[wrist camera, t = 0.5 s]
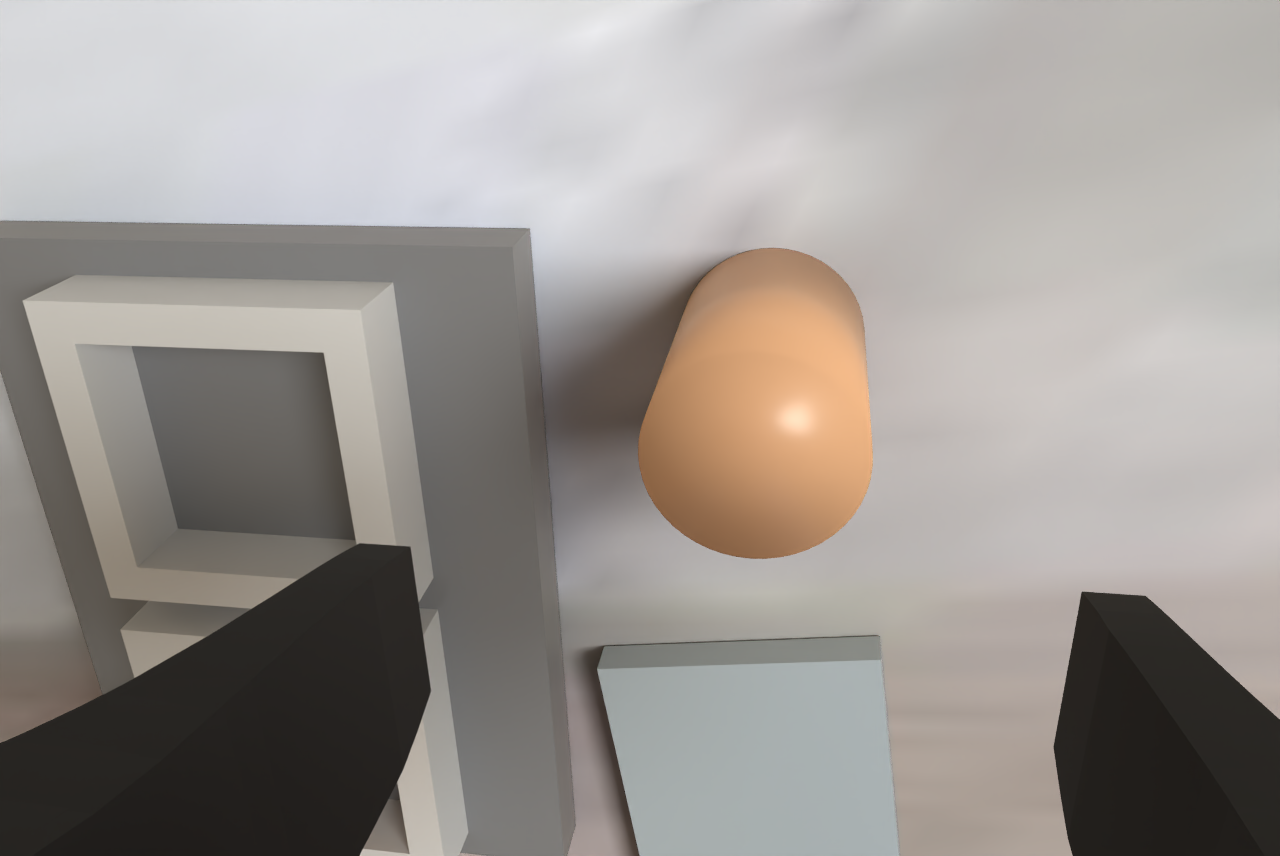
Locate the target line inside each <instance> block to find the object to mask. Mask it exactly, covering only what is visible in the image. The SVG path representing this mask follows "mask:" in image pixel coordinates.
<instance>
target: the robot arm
mask: <svg viewBox="0 0 1280 856" xmlns="http://www.w3.org/2000/svg"><path fill="white" fill-rule="evenodd" d="M430 693H431V686H430V679H429V672H428V665H427V658H426V651H425V644H424V637H423V630H422V623H421V616H420V609H419V602H418V595H417V588H416V581H415V574H414V567H413V560H412V553H411V547H410V546H395V545H381V544H366V543H359V544H357V545H355V546H353V547H352V548H350V549H348V550H346V551H344V552H342V553H340V554H339V555H337V556H335V557H334V558H332V559H330V560H329V561H327V562H325V563H324V564H322V565H320V566H319V567H317V568H316V569H314V570H312V571H311V572H309V573H308V574H306V575H304V576H303V577H301V578H300V579H298V580H296V581H295V582H293V583H292V584H290V585H289V586H287V587H285V588H284V589H282V590H281V591H279V592H278V593H276V594H274V595H273V596H271V597H270V598H268V599H266V600H265V601H263V602H262V603H260V604H258V605H257V606H255V607H254V608H252V609H250V610H249V611H247V612H246V613H244V614H242V615H241V616H239V617H238V618H236V619H234V620H233V621H231V622H230V623H228V624H226V625H225V626H223V627H222V628H220V629H218V630H217V631H215V632H213V633H212V634H210V635H208V636H207V637H205V638H203V639H202V640H200V641H198V642H196V643H195V644H193V645H191V646H189V647H188V648H186V649H184V650H182V651H181V652H179V653H177V654H175V655H174V656H172V657H170V658H168V659H167V660H165V661H163V662H161V663H160V664H158V665H156V666H154V667H153V668H151V669H149V670H147V671H146V672H144V673H142V674H141V675H139V676H137V677H135V678H134V679H132V680H130V681H128V682H126V683H124V684H123V685H121V686H119V687H117V688H115V689H113V690H111V691H109V692H108V693H106V694H104V695H102V696H100V697H98V698H96V699H94V700H92V701H90V702H88V703H86V704H84V705H82V706H80V707H78V708H76V709H74V710H72V711H69V712H67V713H65V714H63V715H61V716H59V717H57V718H55V719H53V720H50V721H48V722H46V723H44V724H42V725H40V726H38V727H36V728H34V729H32V730H29V731H27V732H25V733H23V734H20V735H18V736H16V737H14V738H12V739H9V740H7V741H5V742H2V743H0V856H360V854H361V852H362V850H363V848H364V846H365V844H366V842H367V840H368V838H369V836H370V835H371V833H372V831H373V829H374V827H375V825H376V823H377V821H378V819H379V817H380V815H381V813H382V811H383V809H384V807H385V805H386V803H387V801H388V799H389V797H390V795H391V793H392V792H393V790H394V788H395V786H396V784H397V781H398V779H399V777H400V775H401V773H402V771H403V769H404V767H405V764H406V761H407V759H408V756H409V753H410V751H411V748H412V745H413V743H414V740H415V737H416V734H417V732H418V729H419V726H420V723H421V720H422V717H423V714H424V711H425V708H426V705H427V702H428V699H429V696H430ZM1054 753H1055V760H1056V767H1057V773H1058V780H1059V787H1060V794H1061V800H1062V806H1063V812H1064V818H1065V824H1066V830H1067V836H1068V840H1069V844H1070V847H1071V851H1072V854H1073V856H1280V719H1278V718H1277V717H1276V716H1275V715H1274V714H1273V713H1272V712H1271V711H1269V710H1268V709H1267V708H1266V707H1265V706H1264V705H1263V704H1262V703H1261V702H1259V701H1258V700H1257V699H1256V698H1255V697H1254V696H1253V695H1252V694H1251V693H1250V692H1248V691H1247V690H1246V689H1245V688H1244V687H1243V686H1242V685H1241V684H1240V683H1239V682H1238V681H1237V680H1235V679H1234V678H1233V677H1232V676H1231V675H1230V674H1229V673H1228V672H1227V671H1226V670H1225V669H1224V668H1223V667H1222V666H1220V665H1219V664H1218V663H1217V662H1216V661H1215V660H1214V659H1213V658H1212V657H1211V656H1210V655H1209V654H1208V653H1207V652H1206V651H1204V650H1203V649H1202V648H1201V647H1200V646H1199V645H1198V644H1197V643H1196V642H1195V641H1194V640H1193V639H1192V638H1191V637H1190V636H1189V635H1188V634H1187V633H1185V632H1184V631H1183V630H1182V629H1181V628H1180V627H1179V626H1178V625H1177V624H1176V623H1175V622H1174V621H1173V620H1172V619H1171V618H1170V617H1169V616H1167V615H1166V614H1165V613H1164V612H1163V611H1162V610H1161V609H1160V608H1159V607H1158V606H1156V605H1155V604H1154V603H1153V602H1152V601H1151V600H1150V599H1148V598H1147V597H1146V596H1139V595H1124V594H1109V593H1094V592H1082V594H1081V599H1080V605H1079V610H1078V616H1077V621H1076V627H1075V632H1074V638H1073V643H1072V649H1071V654H1070V660H1069V665H1068V671H1067V676H1066V682H1065V687H1064V693H1063V698H1062V704H1061V709H1060V715H1059V720H1058V726H1057V731H1056V737H1055V742H1054Z"/></svg>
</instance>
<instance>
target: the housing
mask: <svg viewBox="0 0 1280 856" xmlns="http://www.w3.org/2000/svg"><path fill="white" fill-rule="evenodd" d="M0 371H1V374H2V378H3V381H4V384H5V387H6V390H7V393H8V397H9V400H10V403H11V406H12V409H13V412H14V416H15V419H16V422H17V425H18V428H19V431H20V435H21V438H22V441H23V444H24V447H25V450H26V454H27V457H28V460H29V463H30V466H31V469H32V473H33V476H34V479H35V482H36V485H37V488H38V492H39V495H40V498H41V501H42V504H43V507H44V511H45V514H46V517H47V520H48V523H49V526H50V530H51V533H52V536H53V539H54V542H55V545H56V549H57V552H58V555H59V558H60V561H61V564H62V568H63V571H64V574H65V577H66V580H67V583H68V587H69V590H70V593H71V596H72V599H73V602H74V606H75V609H76V612H77V615H78V618H79V621H80V625H81V628H82V631H83V634H84V637H85V640H86V644H87V647H88V650H89V653H90V656H91V659H92V663H93V666H94V669H95V672H96V675H97V678H98V682H99V685H100V688H101V691H102V694H103V695H104V694H106V693H108V692H109V691H111V690H113V689H115V688H117V687H119V686H121V685H123V684H124V683H126V682H128V681H130V680H132V679H134V678H135V677H137V676H139V675H141V674H142V673H144V672H146V671H147V670H149V669H151V668H153V667H154V666H156V665H158V664H160V663H161V662H163V661H165V660H167V659H168V658H170V657H172V656H174V655H175V654H177V653H179V652H181V651H182V650H184V649H186V648H188V647H189V646H191V645H193V644H195V643H196V642H198V641H200V640H202V639H203V638H205V637H207V636H208V635H210V634H212V633H213V632H215V631H217V630H218V629H220V628H222V627H223V626H225V625H226V624H228V623H230V622H231V621H233V620H234V619H236V618H238V617H239V616H241V615H242V614H244V613H246V612H247V611H249V610H250V609H252V608H254V607H255V606H257V605H258V604H260V603H262V602H263V601H265V600H266V599H268V598H270V597H271V596H273V595H274V594H276V593H278V592H279V591H281V590H282V589H284V588H285V587H287V586H289V585H290V584H292V583H293V582H295V581H296V580H298V579H300V578H301V577H303V576H304V575H306V574H308V573H309V572H311V571H312V570H314V569H316V568H317V567H319V566H320V565H322V564H324V563H325V562H327V561H329V560H330V559H332V558H334V557H335V556H337V555H339V554H340V553H342V552H344V551H346V550H348V549H350V548H352V547H353V546H355V545H357V544H359V543H366V544H381V545H395V546H410V547H411V553H412V560H413V567H414V574H415V581H416V588H417V595H418V602H419V609H420V616H421V623H422V630H423V637H424V644H425V651H426V658H427V665H428V672H429V679H430V686H431V693H430V696H429V699H428V702H427V705H426V708H425V711H424V714H423V717H422V720H421V723H420V726H419V729H418V732H417V734H416V737H415V740H414V743H413V745H412V748H411V751H410V753H409V756H408V759H407V761H406V764H405V767H404V769H403V771H402V773H401V775H400V777H399V779H398V781H397V784H396V786H395V788H394V790H393V792H392V793H391V795H390V797H389V799H388V801H387V803H386V805H385V807H384V809H383V811H382V813H381V815H380V817H379V819H378V821H377V823H376V825H375V827H374V829H373V831H372V833H371V835H370V836H369V838H368V840H367V842H366V844H365V846H364V848H363V850H362V852H361V854H360V856H459V855H460V853H469V854H477V855H486V856H567V854H568V851H569V847H570V844H571V840H572V837H573V833H574V830H575V826H576V824H575V811H574V798H573V785H572V772H571V759H570V746H569V733H568V720H567V706H566V693H565V680H564V667H563V654H562V641H561V628H560V615H559V602H558V589H557V576H556V563H555V550H554V537H553V524H552V511H551V498H550V485H549V472H548V459H547V446H546V433H545V420H544V407H543V394H542V381H541V368H540V355H539V342H538V329H537V316H536V303H535V290H534V276H533V263H532V250H531V237H530V229H518V228H451V227H383V226H316V225H248V224H180V223H113V222H45V221H0Z"/></svg>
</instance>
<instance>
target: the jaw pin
mask: <svg viewBox="0 0 1280 856" xmlns="http://www.w3.org/2000/svg"><path fill="white" fill-rule="evenodd" d="M638 458H639V467H640V471H641V475H642V479H643V482H644V484H645V487H646V489H647V492H648V494H649V496H650V497H651V499H652V501H653V503H654V504H655V506H656V507H657V508H658V510H659V511H660V512H661V514H662V515H663V516H664V517H665V518H666V519H667V520H668V521H669V522H670V523H671V524H672V525H673V526H674V527H675V528H676V529H677V530H679V531H680V532H681V533H682V534H684V535H685V536H687V537H688V538H690V539H691V540H693V541H695V542H696V543H698V544H700V545H702V546H705V547H707V548H709V549H711V550H714V551H717V552H720V553H723V554H727V555H731V556H736V557H743V558H752V559H767V558H777V557H783V556H788V555H793V554H796V553H799V552H802V551H805V550H808V549H810V548H812V547H814V546H816V545H818V544H820V543H822V542H824V541H825V540H827V539H828V538H830V537H831V536H833V535H834V534H835V533H836V532H838V531H839V530H840V529H841V528H842V527H843V526H844V525H845V524H846V523H847V522H848V521H849V520H850V519H851V518H852V516H853V515H854V514H855V512H856V511H857V509H858V508H859V506H860V505H861V503H862V501H863V498H864V496H865V494H866V492H867V489H868V486H869V482H870V479H871V473H872V466H873V451H872V436H871V421H870V406H869V391H868V376H867V361H866V346H865V331H864V323H863V316H862V313H861V310H860V306H859V304H858V302H857V300H856V297H855V295H854V294H853V292H852V290H851V289H850V287H849V286H848V284H847V283H846V282H845V281H844V280H843V279H842V277H841V276H840V275H839V274H837V273H836V272H835V271H834V270H833V269H832V268H831V267H829V266H828V265H826V264H825V263H823V262H822V261H820V260H818V259H816V258H814V257H812V256H810V255H807V254H804V253H801V252H798V251H793V250H789V249H780V248H763V249H756V250H751V251H747V252H744V253H740V254H737V255H735V256H733V257H731V258H729V259H726V260H725V261H723V262H722V263H720V264H718V265H717V266H716V267H714V268H713V269H712V270H711V271H710V272H708V273H707V274H706V275H705V276H704V278H703V279H702V280H701V281H700V282H699V283H698V285H697V286H696V288H695V289H694V290H693V292H692V294H691V296H690V298H689V300H688V302H687V305H686V308H685V310H684V313H683V316H682V318H681V321H680V324H679V326H678V329H677V332H676V334H675V337H674V340H673V342H672V345H671V348H670V350H669V353H668V356H667V358H666V361H665V364H664V366H663V369H662V372H661V375H660V377H659V380H658V383H657V385H656V388H655V391H654V393H653V396H652V399H651V401H650V404H649V407H648V409H647V412H646V415H645V418H644V420H643V423H642V426H641V431H640V436H639V444H638Z"/></svg>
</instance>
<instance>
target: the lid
mask: <svg viewBox="0 0 1280 856" xmlns="http://www.w3.org/2000/svg"><path fill="white" fill-rule="evenodd" d="M597 671H598V676H599V680H600V684H601V689H602V693H603V697H604V702H605V706H606V711H607V715H608V719H609V724H610V728H611V732H612V737H613V741H614V746H615V750H616V754H617V759H618V763H619V768H620V772H621V776H622V781H623V785H624V789H625V794H626V798H627V803H628V807H629V811H630V816H631V820H632V824H633V829H634V833H635V838H636V842H637V846H638V851H639V855H640V856H900V851H899V840H898V829H897V818H896V807H895V796H894V785H893V775H892V764H891V753H890V742H889V731H888V720H887V709H886V699H885V688H884V677H883V666H882V655H881V644H880V636H866V637H839V638H813V639H786V640H760V641H733V642H707V643H680V644H654V645H627V646H604V649H603V652H602V655H601V658H600V661H599V665H598V668H597Z"/></svg>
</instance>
